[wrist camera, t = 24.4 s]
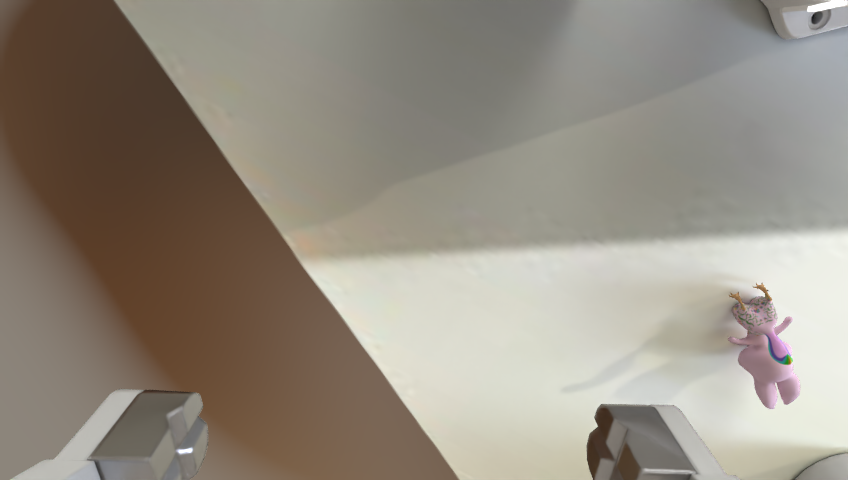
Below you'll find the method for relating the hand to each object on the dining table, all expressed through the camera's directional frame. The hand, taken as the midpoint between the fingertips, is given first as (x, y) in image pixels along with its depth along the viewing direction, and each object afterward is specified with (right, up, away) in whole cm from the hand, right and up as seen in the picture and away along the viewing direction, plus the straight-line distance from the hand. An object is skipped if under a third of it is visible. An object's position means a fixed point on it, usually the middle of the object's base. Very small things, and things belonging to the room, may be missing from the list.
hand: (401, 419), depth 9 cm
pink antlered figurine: (+36, -7, +38) cm, 53 cm away
